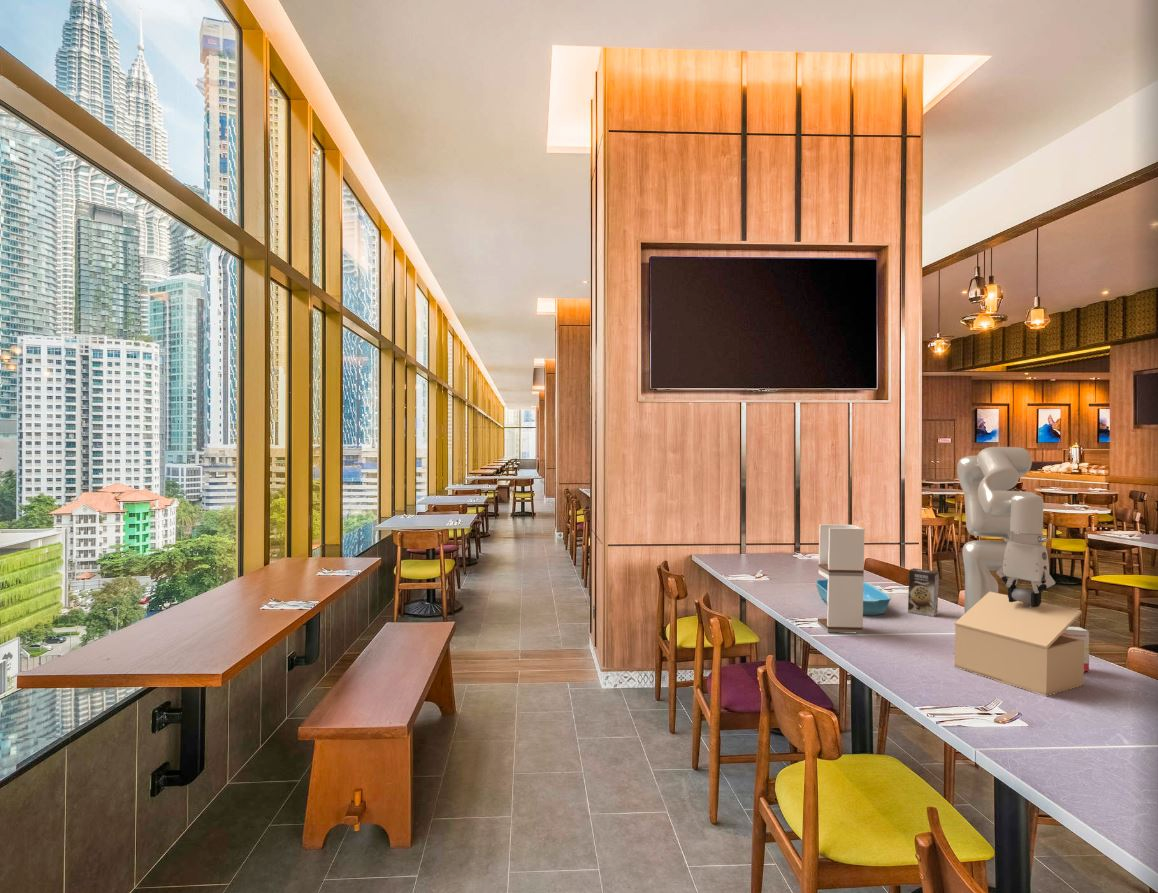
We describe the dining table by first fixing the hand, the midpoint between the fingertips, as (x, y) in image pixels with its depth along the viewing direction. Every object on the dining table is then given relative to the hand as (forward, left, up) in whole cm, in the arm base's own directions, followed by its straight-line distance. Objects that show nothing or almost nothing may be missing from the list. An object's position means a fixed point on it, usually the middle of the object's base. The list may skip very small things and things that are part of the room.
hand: (1024, 603), depth 185 cm
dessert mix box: (-36, -55, -20) cm, 69 cm away
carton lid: (+4, 0, -4) cm, 5 cm away
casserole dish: (-21, -75, -20) cm, 81 cm away
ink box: (-17, +3, -20) cm, 27 cm away
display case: (+10, -54, -20) cm, 58 cm away
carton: (+3, 0, -20) cm, 20 cm away
